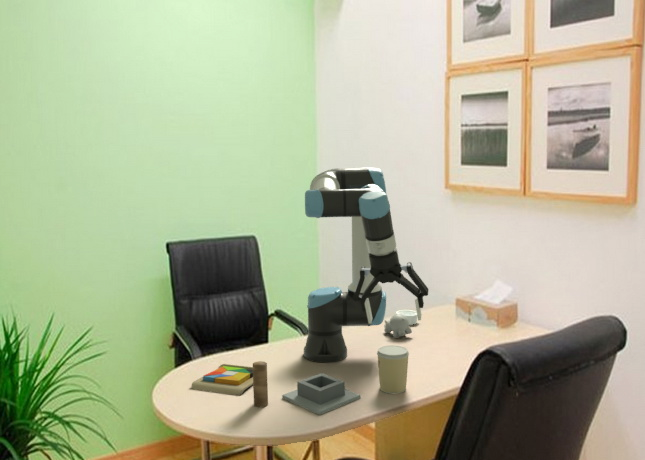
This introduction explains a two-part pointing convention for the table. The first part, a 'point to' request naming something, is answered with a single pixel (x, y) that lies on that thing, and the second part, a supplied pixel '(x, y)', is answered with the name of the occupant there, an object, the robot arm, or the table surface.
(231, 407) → the table surface
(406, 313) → the ramekin
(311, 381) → the socket
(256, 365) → the peg
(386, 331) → the toy rhinoceros
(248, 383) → the wooden puzzle
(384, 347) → the coffee cup
